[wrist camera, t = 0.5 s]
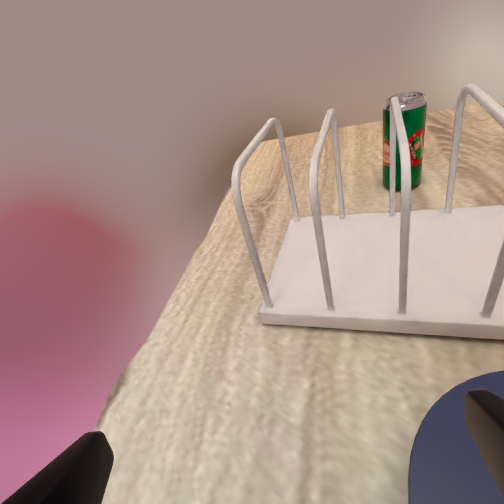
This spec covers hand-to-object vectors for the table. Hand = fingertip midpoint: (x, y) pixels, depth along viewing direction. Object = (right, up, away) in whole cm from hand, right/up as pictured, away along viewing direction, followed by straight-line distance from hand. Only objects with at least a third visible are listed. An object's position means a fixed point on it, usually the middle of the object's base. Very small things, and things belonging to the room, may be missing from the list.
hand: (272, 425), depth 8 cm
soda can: (+22, +14, +39) cm, 47 cm away
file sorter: (+15, +2, +25) cm, 29 cm away
